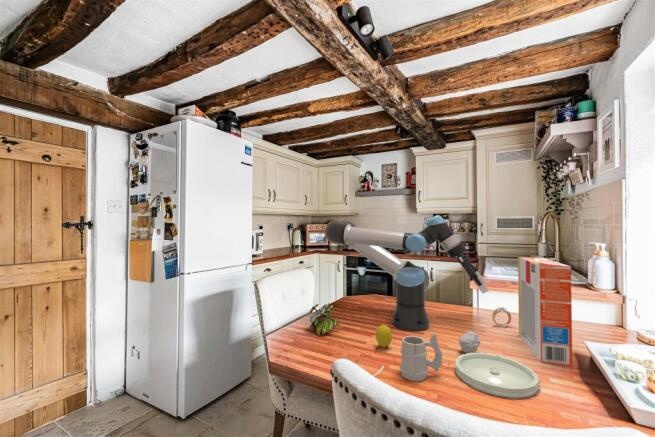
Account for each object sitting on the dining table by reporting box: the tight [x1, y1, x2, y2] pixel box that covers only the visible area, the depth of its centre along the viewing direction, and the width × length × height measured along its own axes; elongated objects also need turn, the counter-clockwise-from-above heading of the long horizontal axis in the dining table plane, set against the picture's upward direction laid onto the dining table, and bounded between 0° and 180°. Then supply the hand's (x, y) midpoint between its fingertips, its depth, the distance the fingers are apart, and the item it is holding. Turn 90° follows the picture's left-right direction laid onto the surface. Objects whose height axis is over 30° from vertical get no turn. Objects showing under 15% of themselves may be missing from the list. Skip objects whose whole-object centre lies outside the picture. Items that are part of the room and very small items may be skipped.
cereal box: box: [517, 256, 573, 367], centre depth 101 cm, size 23×8×30 cm, turn 161°
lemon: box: [375, 323, 393, 349], centre depth 103 cm, size 6×6×8 cm
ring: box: [491, 306, 512, 328], centre depth 123 cm, size 7×3×8 cm, turn 76°
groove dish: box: [455, 352, 540, 400], centre depth 83 cm, size 20×20×2 cm
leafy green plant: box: [309, 302, 341, 337], centre depth 119 cm, size 13×12×14 cm
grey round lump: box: [458, 330, 481, 354], centre depth 98 cm, size 6×7×7 cm
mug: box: [399, 332, 443, 382], centre depth 84 cm, size 8×12×12 cm, turn 87°
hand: (485, 288), depth 125 cm, fingers open, 13 cm apart
